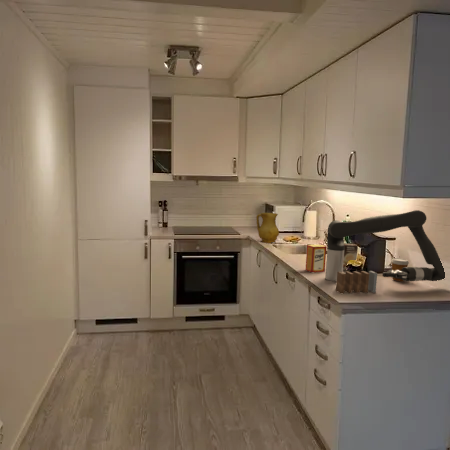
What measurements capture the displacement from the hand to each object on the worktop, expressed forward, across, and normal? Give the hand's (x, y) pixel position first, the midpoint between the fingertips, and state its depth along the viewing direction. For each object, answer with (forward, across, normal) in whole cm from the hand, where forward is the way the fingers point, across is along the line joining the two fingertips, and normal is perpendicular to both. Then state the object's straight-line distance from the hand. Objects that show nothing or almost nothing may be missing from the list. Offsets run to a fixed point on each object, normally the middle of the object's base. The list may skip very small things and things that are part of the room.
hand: (383, 274), depth 223 cm
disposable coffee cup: (-24, -20, +9) cm, 32 cm away
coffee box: (-7, -47, +9) cm, 49 cm away
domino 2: (+20, 0, +9) cm, 21 cm away
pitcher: (+9, -150, +9) cm, 151 cm away
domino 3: (+15, 0, +9) cm, 17 cm away
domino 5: (+6, 0, +8) cm, 11 cm away
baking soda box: (+16, -45, +9) cm, 49 cm away
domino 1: (+24, 0, +9) cm, 26 cm away
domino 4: (+11, 0, +8) cm, 14 cm away
